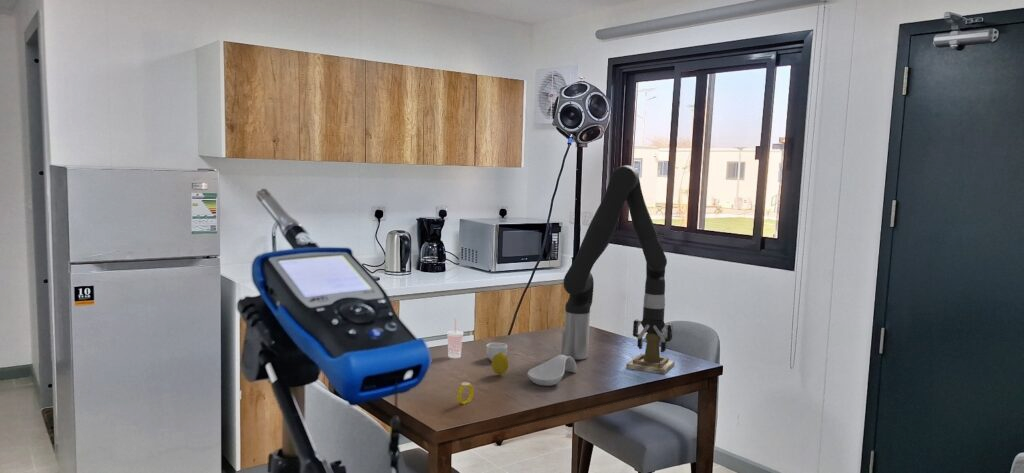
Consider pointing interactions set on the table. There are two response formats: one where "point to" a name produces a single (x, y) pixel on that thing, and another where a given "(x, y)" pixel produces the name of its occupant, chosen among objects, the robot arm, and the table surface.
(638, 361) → the socket board
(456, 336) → the beverage cup
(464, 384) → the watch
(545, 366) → the spoon rest
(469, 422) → the table surface
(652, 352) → the pepper mill
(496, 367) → the lemon
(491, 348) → the teacup
